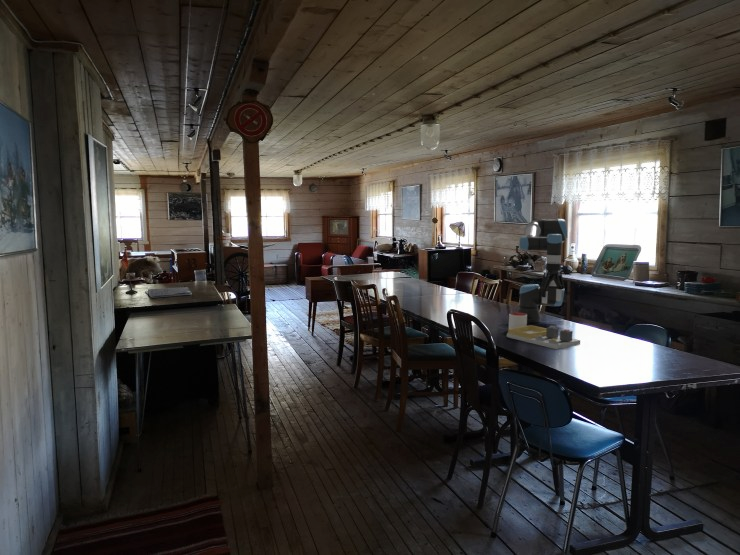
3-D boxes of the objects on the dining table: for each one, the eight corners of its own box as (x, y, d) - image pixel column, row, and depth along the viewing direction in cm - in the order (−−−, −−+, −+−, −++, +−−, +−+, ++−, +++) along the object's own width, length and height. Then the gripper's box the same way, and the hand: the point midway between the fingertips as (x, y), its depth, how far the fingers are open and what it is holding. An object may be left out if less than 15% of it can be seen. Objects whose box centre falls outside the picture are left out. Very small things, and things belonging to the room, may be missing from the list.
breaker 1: (550, 335, 283) (551, 325, 282) (558, 337, 279) (558, 326, 279) (546, 336, 281) (546, 325, 280) (553, 338, 277) (553, 327, 277)
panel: (530, 332, 302) (530, 324, 301) (580, 344, 275) (580, 335, 275) (506, 336, 291) (506, 328, 290) (555, 349, 264) (556, 340, 264)
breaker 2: (564, 339, 276) (565, 328, 276) (572, 340, 272) (572, 330, 272) (559, 340, 274) (560, 329, 273) (567, 341, 270) (567, 331, 270)
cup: (524, 329, 310) (525, 312, 309) (527, 333, 300) (528, 316, 299) (507, 329, 311) (507, 312, 310) (510, 332, 301) (510, 315, 300)
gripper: (559, 261, 292) (558, 299, 295) (533, 263, 277) (532, 303, 279) (572, 262, 287) (570, 301, 289) (546, 264, 271) (544, 305, 273)
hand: (551, 302), depth 284 cm, fingers open, 13 cm apart
